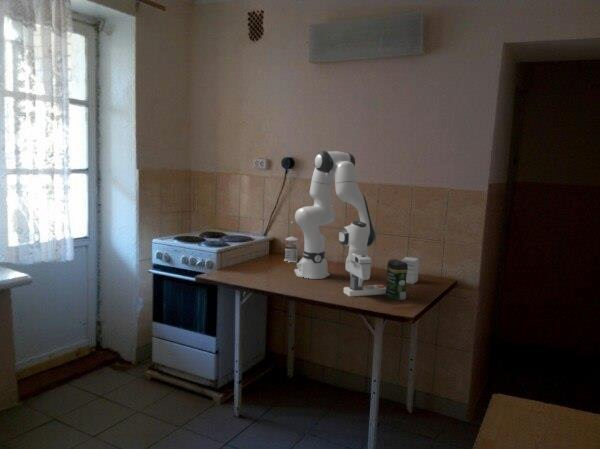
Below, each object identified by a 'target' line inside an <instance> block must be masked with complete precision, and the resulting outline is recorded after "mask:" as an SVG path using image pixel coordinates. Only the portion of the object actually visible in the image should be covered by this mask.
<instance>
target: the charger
mask: <svg viewBox="0 0 600 449" xmlns="http://www.w3.org/2000/svg"><path fill="white" fill-rule="evenodd" d="M349 281H350V282H349V287H350V289H352V290H353V291H356V290H363V286H364V282H363V283H362V287H359V286H358V284H357V283H358V282H359V278H358V277H357V276H352V277H351V276H350V280H349Z"/></svg>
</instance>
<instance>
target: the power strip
mask: <svg viewBox="0 0 600 449" xmlns="http://www.w3.org/2000/svg"><path fill="white" fill-rule="evenodd" d="M386 287H387V286H385V285H384V284H375V285H363V290H356V291H353V290H352V289H350V286H344V287H343V293H344V294H345V295H347V296H348V297H361V296H362V297H363V296H377V295H386Z"/></svg>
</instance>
